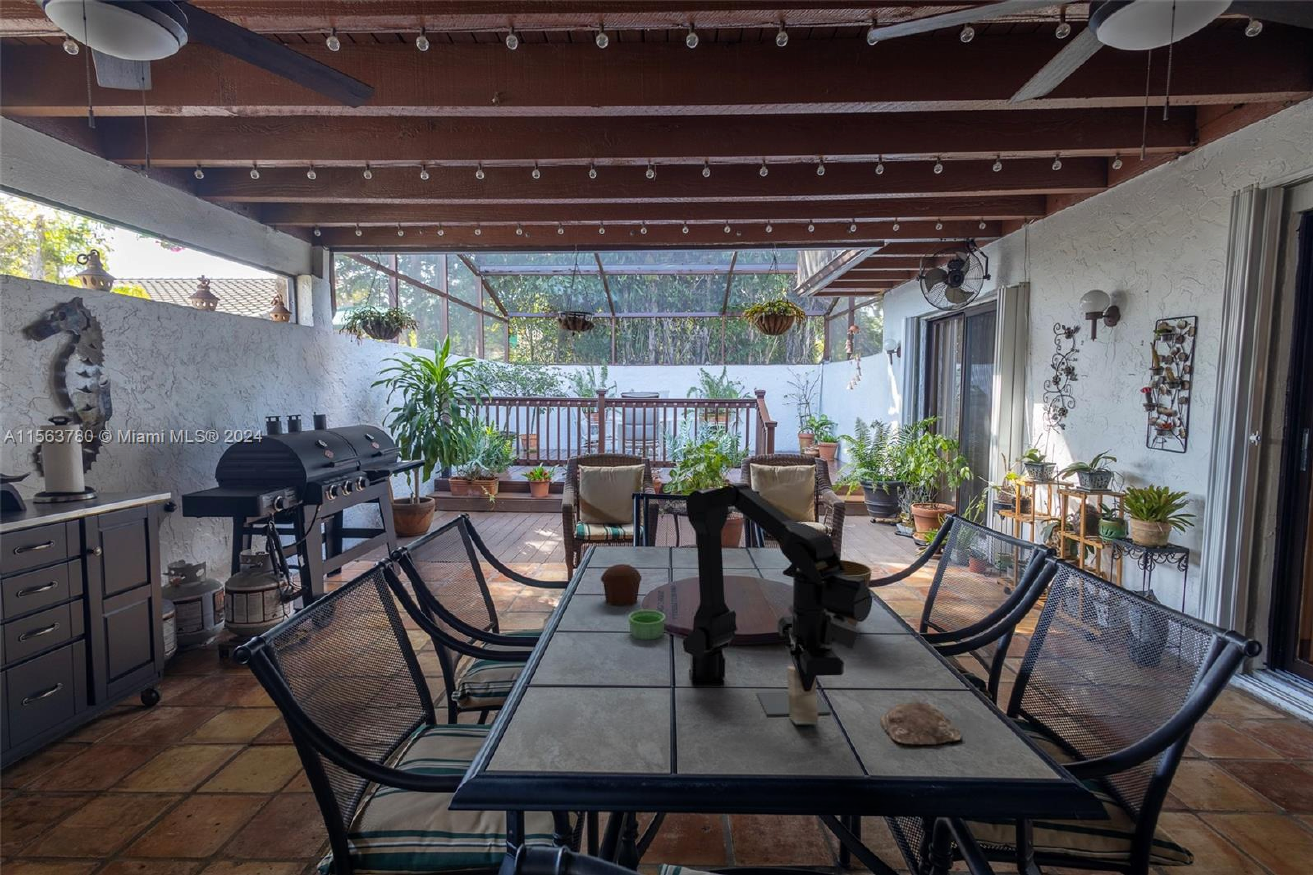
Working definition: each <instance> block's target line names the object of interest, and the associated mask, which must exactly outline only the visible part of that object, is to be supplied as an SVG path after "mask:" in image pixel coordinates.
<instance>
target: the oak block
mask: <svg viewBox="0 0 1313 875" xmlns="http://www.w3.org/2000/svg"><path fill="white" fill-rule="evenodd" d="M786 671H787V688H788V690H787V691H788V692H789V714H790V715H789V719H790V721H792V722H793V723H794V724H795V725H796V726H798V725H799V726H801V725H819V714H818V709H817V692H818V691H817V677H815V680H814V683H813V685H812V688H811V690H810V691H809V692H805V691H804V690H803V688H802V685H801V683H800V680H799V677H798V675H797V672H796V669H795V667H794V666H787V670H786Z"/></svg>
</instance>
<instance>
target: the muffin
mask: <svg viewBox="0 0 1313 875" xmlns="http://www.w3.org/2000/svg"><path fill="white" fill-rule="evenodd" d="M600 581H601V583H603V590H604V596H605V597H604V598H605V603H606V604H608V605H610V606H615V607H627V606H632V605H634V604H635V603H637V602H638V597H639V590H640V584H641V581H642V576H641V574H640V572H639V571H638V569H636V568H635V567H633V566H631V565H630V564H625V563H623V564H621V563H620V564H615V565H614V564H613V565H612V566H610V567H609V568H607V569H606V570H605V571H604V572H603V574H602V575H601V576H600Z"/></svg>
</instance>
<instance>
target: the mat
mask: <svg viewBox="0 0 1313 875" xmlns="http://www.w3.org/2000/svg"><path fill="white" fill-rule="evenodd" d="M756 697H757V698H758V700H759V703H760V704H761V707H762V709H763V710H764V713H765V715H766V717H777V716H776V715H785V716H790V714H789V692H788V690H785V691H758V692H756ZM817 709H818V715H831V711H830V709H829V707H828V706H827V705H826V703H825V702H824V700H823V699H822V696H820V694H819V693H818V691H817ZM774 715H775V716H774Z"/></svg>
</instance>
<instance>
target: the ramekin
mask: <svg viewBox="0 0 1313 875" xmlns="http://www.w3.org/2000/svg"><path fill="white" fill-rule="evenodd" d="M665 620H666V615H665V614H664V613H663V612H661V611H658V610H653V609H641V610H636V611H633V612H631V613H629V615H628V621H629V630H630V635H631V636H633V638H636V639H637V640H638V639H640V640H645V641H646V640H647V641H649V640H655V639H658V638H660V637H662V636H663V634H664V628H665Z"/></svg>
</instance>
